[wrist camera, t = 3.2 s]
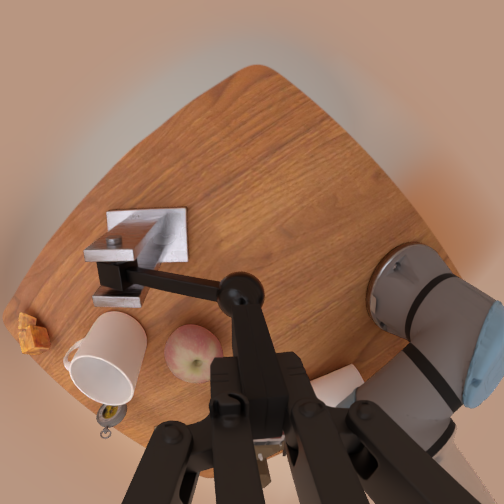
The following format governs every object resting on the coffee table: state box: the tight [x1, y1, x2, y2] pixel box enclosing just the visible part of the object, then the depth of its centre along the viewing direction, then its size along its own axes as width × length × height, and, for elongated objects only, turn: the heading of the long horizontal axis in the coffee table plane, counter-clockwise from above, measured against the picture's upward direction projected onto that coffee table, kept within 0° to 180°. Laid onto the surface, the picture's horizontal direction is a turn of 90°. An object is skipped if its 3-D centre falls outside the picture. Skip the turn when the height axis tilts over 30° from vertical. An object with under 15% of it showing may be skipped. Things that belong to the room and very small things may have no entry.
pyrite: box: [18, 312, 51, 355], centre depth 32 cm, size 5×7×4 cm
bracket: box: [84, 206, 189, 308], centre depth 26 cm, size 10×7×14 cm, turn 89°
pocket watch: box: [96, 403, 127, 438], centre depth 35 cm, size 8×8×10 cm
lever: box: [97, 258, 265, 318], centre depth 20 cm, size 14×3×3 cm, turn 89°
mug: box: [63, 311, 147, 406], centre depth 32 cm, size 9×12×11 cm
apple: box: [164, 324, 223, 383], centre depth 35 cm, size 8×8×8 cm
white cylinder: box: [310, 364, 364, 407], centre depth 41 cm, size 13×10×10 cm
